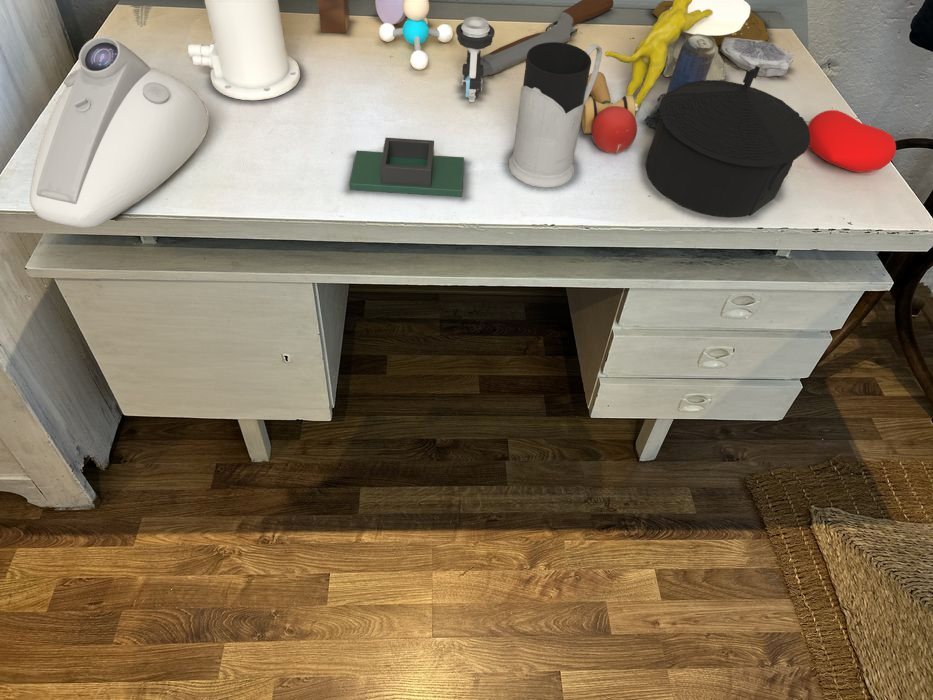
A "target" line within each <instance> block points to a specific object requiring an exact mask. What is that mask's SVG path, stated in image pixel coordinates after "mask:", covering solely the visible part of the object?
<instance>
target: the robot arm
mask: <svg viewBox="0 0 933 700" xmlns="http://www.w3.org/2000/svg"><path fill="white" fill-rule="evenodd" d="M279 4H280V3H279V0H204V5H205V9H206V14H207V18H208V23H209V26H210V31H211V35H212V40H213V42H211V43H210V45H209V44H208V45H206V44H201V43H189V44H188V46H187V47H188V48H187V52H188V56H189V58H191V59H192V64H193V65H194V66H198V67H204V66H206V67H209V68H211V69H210V74H209V75H210V79H211V83H212V86H213V87H214V88H215V90H216V91H217V92H219V93H220V94H221V95H224V96H226V97H229V98H232V99H235V100H242V101H263V100H269V99H273V98H277V97H279V96H281V95H282V96H283V95H284V94H286V93H288V92H289V91H291V90H292V89H294V88H295V87H296V85H297V84H298V83H299V82H300V79H301V71H300V66H299V64H298V63H297V61H296V60H295V59H294V58H293V57H291V56H290V55H288V54H287V49H286V43H285V37H284V30H283V24H282V17H281V9H280V5H279Z"/></svg>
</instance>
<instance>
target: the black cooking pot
mask: <svg viewBox="0 0 933 700" xmlns="http://www.w3.org/2000/svg"><path fill="white" fill-rule="evenodd" d="M759 69H760V67H758V66H756V67H755V68H754V69H751V70H750V72H749V71H747V70H746V73H745V76H744V78H743V81H742V82H743V83H737V82H733V81H727V80H721V81H719V80H706V81H703V80H700V81H694V82H689V83H686V84H684V85H682V86H680V87H678V88H676V89H674V90H672V91H670V92H669V93H667V92H666V93H667V94H666V93H665V95H664V97H663V98H662V100H661V101H660V106H659V113H660V118H659V121H658V125H657V128H655V132H654V135H653V137H652V141H651V144H650V147H649V150H648V152H647V153H648V154H647V157H646V162H645V167H646V172H647V176H648V178H649V180H650V182H651V184H652V185H653V186H654V187H655V188H656V189H657V190H658V191H659V192H660V193H661V194H662V195H663V196H665V197H666V198H668V199H669V200H671V201H673V202H674V203H676V204H677V205H679V206H681V207H683V208H686V209H688V210H690V211H693V212H696V213H699V214H702V215H707V216H711V217H719V218H741V217H747V216H749V217H752V215H754V214H755V213H757V211H759V210H760V209H761V208H762V209H763V207H764V206H766V205H767V204H769V203H770V202H771V201H773V200H774V199H776V197H777V195H778V193H779V191H780V189H781V187H782V184H783V183H784V181H785V179H786V178H787V176H788V175H789V173H790V171H791V168H792V167H793V163H794V161H795V160H796V159H798V158H799V157H800V156H802V155H803V154H805V153H806V151H807V150H808V149H809V147H810V146H809V143H810V133H809V128H808V123H807V122H806V120H805V119H804V118H803V116H801V115H800V113H799V112H798V111H796V110H795V109H794V108H793V107H792V106H790V105H788V104H787V103H786V102H784V101H783V100H782V99H780V98H779V97H776V96H774V95H772V94H770V93H768V92H766V91H764V90H761V89H758V88H756V87H752V84H753V81H754V79H756V78H757V77H758V75H757V74H758V72H759Z"/></svg>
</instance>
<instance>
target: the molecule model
mask: <svg viewBox="0 0 933 700" xmlns="http://www.w3.org/2000/svg"><path fill="white" fill-rule="evenodd" d="M403 11H404V13H405V15H406V17H407V19H406V20H405V22H404V23H403V25H402V27H399V28H396V27H395V26H394V24H393V25H392V24H390V23H384V22H383V23H382V24H381V25H380V26H379V28H378V36H379V38H380V39H381V40H382V41H384V42H386V43H389V42H392V41H394V39H396V37H400V36H403V38H404V39H405V41H406V42H407V43H408V44H409V45H413V46H414V47H413V48H414V49H413V50H414V51H413V52H412V53H411V54H410V57H409V62H410V66H412V68H413V69H414V70H417V71H421V70H424V69H425V68H426V67H427V66H428V64H429V57H428V55H427V53H426V52H425V51H423V50H421V49H422V48H421V45H423V44H424V43H425V42H426V41H427V39H428V37H429V36H430V37H433V38H436V39H437V40H438V41H439V42H441V43H445V44H446V43H448V42H450V41H451V40H452V39H453V37H454V30H453V28H452V26H451V25H449V24H448V23H441V24H439V25H438V26H437V27H436V29H434V28H430V27H429V25H428V24H427V23H426V22H425V21H424V20H423V19H424V18H425V17H427V16H428V14H429V11H430V2H429V0H403Z"/></svg>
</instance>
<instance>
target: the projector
mask: <svg viewBox="0 0 933 700" xmlns="http://www.w3.org/2000/svg"><path fill="white" fill-rule="evenodd" d="M78 63H79V65H80V68H79V69H75V70H74V71H72V72H70V73H69V74H68V75H67V77H66V78H65V79H64V80H63V84H64V85H65V86H66V87H64V90H63V91H62V92H61V94H60V96H59V98H58V99H57V101H56V103H55V105H54V107H53V110H52V112H51V114H50V116H49V118H48V121H47V124H46V126H45V129H44V132H43V135H42V138H41V141H40V144H39V148H38V151H37V152H38V153H37V156H36V159H35V164H34V168H33V172H32V176H31V177H32V178H31V184H30V189H29V204H30V206H31V209H32V210H33V212H34V214H35V215H36V216H37V217H39V218H40V219H42V220H45V221H48V222H51V223H56V224H58V225H59V224H60V225H63V226H64V225H65V226H70V227H77V228H82V229H90V228H91V229H92V228H96V227H99V226H101V225H103V224H105V223H107V222H108V221H111V220H112V219H114V218H116V217H117V216H119V215H121V214H122V213H124V212H125V211H127V210H128V209H129V208H131V207H132V206H135V204H137V203H139V202H140V201H141V200H143V199H144V198H145V197H147V196H148V195H150V193H152V192H153V191H155V189H157V188H158V187H160V186H161V185H162V184H163V183H164V182H166V181H167V180H168V179H169V178H170V177H171V176H172V175H173V174H174V173H175V172H177V170H178V169H180V168H181V167H182V166H183V164H185V162H187V160H188V159H190V157H191V156H192V155H193V154H194V153H195V152H196V151H197V149H198V148H199V147H200V145H201V143H202V142H203V141H204V139H205V137H206V135H207V132H208V128H209V113H208V109H207V106H206V104H205V102H204V100H203V99H202V98H201V96H200V95H199V93H197V91H196V90H194V89H193V87H191V86H190V85H189V84H187V83H186V82H184V81H183V80H181V79H179V78H177V77H175V76H174V75H172V74H169V73H167V72H166V71H162V70H159V69H157V68H155V67H151V66H149V65H148V63H146V62H145V60H143V59H142V58H141V57H140V56H139V55H137V54H136V53H135V52H134V51H132V49H130V48H128V47H127V46H126V45H125V44H123V43H121V42H119V41H118V40H116V39H115V38H113V37H110V36H104V35H102V36H101V35H99V36H96V37H94V38H91V39H90V40H89V39H88V41H87V42H85V43H84V44H83V46H82V47H81V49H80V51H79V53H78Z"/></svg>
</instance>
